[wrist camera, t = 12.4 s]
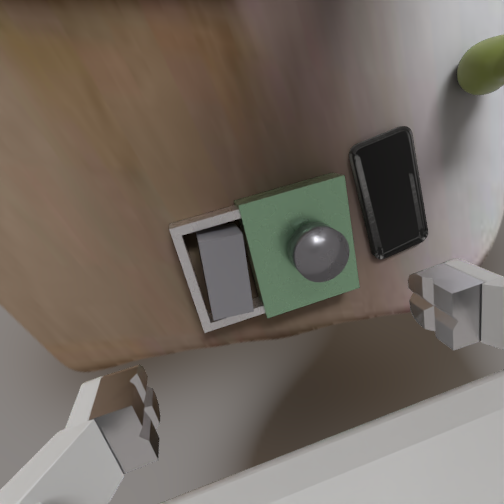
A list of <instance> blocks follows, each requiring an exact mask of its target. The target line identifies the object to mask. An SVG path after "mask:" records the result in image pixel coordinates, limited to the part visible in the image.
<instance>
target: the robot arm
mask: <svg viewBox="0 0 504 504" xmlns="http://www.w3.org/2000/svg"><path fill="white" fill-rule="evenodd" d="M408 288H409V289H410V290H411V291H412V292H413V294H412V296H411V298H410V300H409V302H410V310H411V312H412V315H413V317H414V319H415V320H416V321H417V322H418V324H419V325H421V326H422V327H423V328H424V329H427V330H431V331H435V334H436V338H438V339H439V340H440V341H442V342H443V343H444V344H446V345H447V346H448V347H450V348H451V349H452V350H456V349H459V348H462V347H465V346H468V345H471V344H474V343H477V342H480V341H481V343H484V344H487V345H490V346H493V347H496V348H499V349H502V350H504V276H503V277H502V276H500V275H498V274H495V273H493V272H491V271H488V270H486V269H483V268H481V267H478V266H476V265H474V264H471V263H469V262H466V261H464V260H461V259H451V260H449V261H446V262H443V263H441V264H439V265H436V266H433V267H430V268H428V269H425V270H422V271H419V272H417V273H414V274H411V275H409V279H408ZM147 377H148V376H147V374H146V372H145V370H144V368H143V366H141V365H137V366H134V367H131V368H127V369H124V370H121V371H118V372H114V373H111V374H108V375H105V376H101V377H98V378H96V379H93V380H90V381H87V382H85V383H83V384H82V385H81V387H80V390H79V393H78V395H77V398H76V401H75V403H74V406H73V408H72V411H71V414H70V417H69V419H68V422H67V424H66V427H65V429H64V430H62V431H59V432H58V433H56V434H55V435H54V437H52V439H51V440H50V441H49V442H48V443H47V444H46V445H45V446H44V447H43V448H42V449H41V450H40V451H39V452H38V453H37V454H36V455H35V456H34V457H33V458H32V459H31V460H30V461H29V462H28V463H27V464H26V465H25V466H24V467H23V468H22V469H21V470H20V471H19V472H18V473H17V474H16V475H15V476H14V477H13V478H12V479H11V480H10V481H9V482H8V483H7V484H6V485H5V486H4V487H3V488H2V489H1V490H0V504H109V502H110V501H111V499H112V497H113V495H114V493H115V492H116V490H117V488H118V487H119V485H120V483H121V481H122V480H123V478H124V474H126V473H128V472H131V471H133V470H136V469H138V468H140V467H143V466H145V465H148V464H150V463H153V462H155V461H158V454H159V436H158V434H157V432H156V429H157V428H158V426H159V425H160V411H159V404H158V401H157V397H156V395H155V392H154V390H153V389H152V388H150V387H148V386H147ZM159 504H504V370H501V371H498V372H496V373H493V374H491V375H488V376H485V377H483V378H480V379H478V380H475V381H473V382H470V383H467V384H465V385H462V386H460V387H457V388H455V389H452V390H449V391H447V392H444V393H442V394H439V395H437V396H434V397H431V398H429V399H426V400H424V401H421V402H418V403H416V404H413V405H411V406H408V407H406V408H403V409H400V410H398V411H395V412H393V413H390V414H388V415H385V416H383V417H380V418H377V419H375V420H372V421H370V422H367V423H365V424H362V425H359V426H357V427H354V428H352V429H349V430H347V431H344V432H342V433H339V434H337V435H334V436H331V437H329V438H326V439H324V440H321V441H318V442H316V443H313V444H311V445H308V446H306V447H303V448H301V449H298V450H296V451H293V452H290V453H288V454H285V455H283V456H280V457H277V458H275V459H272V460H270V461H267V462H264V463H262V464H259V465H257V466H254V467H252V468H249V469H246V470H244V471H241V472H239V473H236V474H234V475H231V476H228V477H226V478H223V479H221V480H218V481H216V482H213V483H211V484H208V485H205V486H203V487H200V488H198V489H195V490H193V491H190V492H187V493H185V494H182V495H179V496H177V497H175V498H172V499H169V500H167V501H164V502H162V503H159Z"/></svg>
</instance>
